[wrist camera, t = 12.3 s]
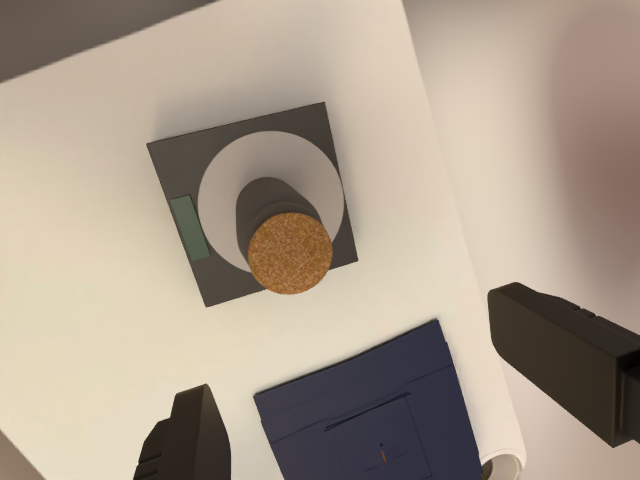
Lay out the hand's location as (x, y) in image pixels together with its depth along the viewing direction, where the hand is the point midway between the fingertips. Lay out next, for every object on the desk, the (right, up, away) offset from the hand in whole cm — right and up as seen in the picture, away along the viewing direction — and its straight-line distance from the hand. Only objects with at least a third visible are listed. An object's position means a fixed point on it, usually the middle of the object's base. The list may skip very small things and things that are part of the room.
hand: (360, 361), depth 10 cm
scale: (-7, +7, +27) cm, 29 cm away
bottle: (-6, +6, +25) cm, 26 cm away
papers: (+7, -24, +39) cm, 46 cm away
